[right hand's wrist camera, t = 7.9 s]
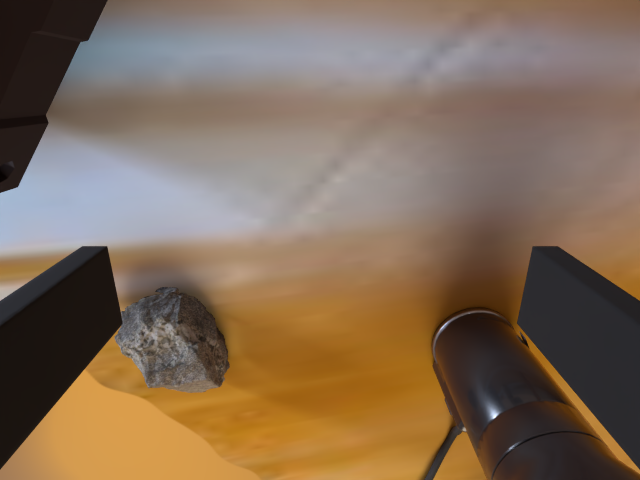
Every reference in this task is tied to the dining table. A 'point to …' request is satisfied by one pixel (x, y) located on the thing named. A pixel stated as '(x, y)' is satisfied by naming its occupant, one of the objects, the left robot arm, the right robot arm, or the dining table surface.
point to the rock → (174, 342)
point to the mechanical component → (35, 71)
